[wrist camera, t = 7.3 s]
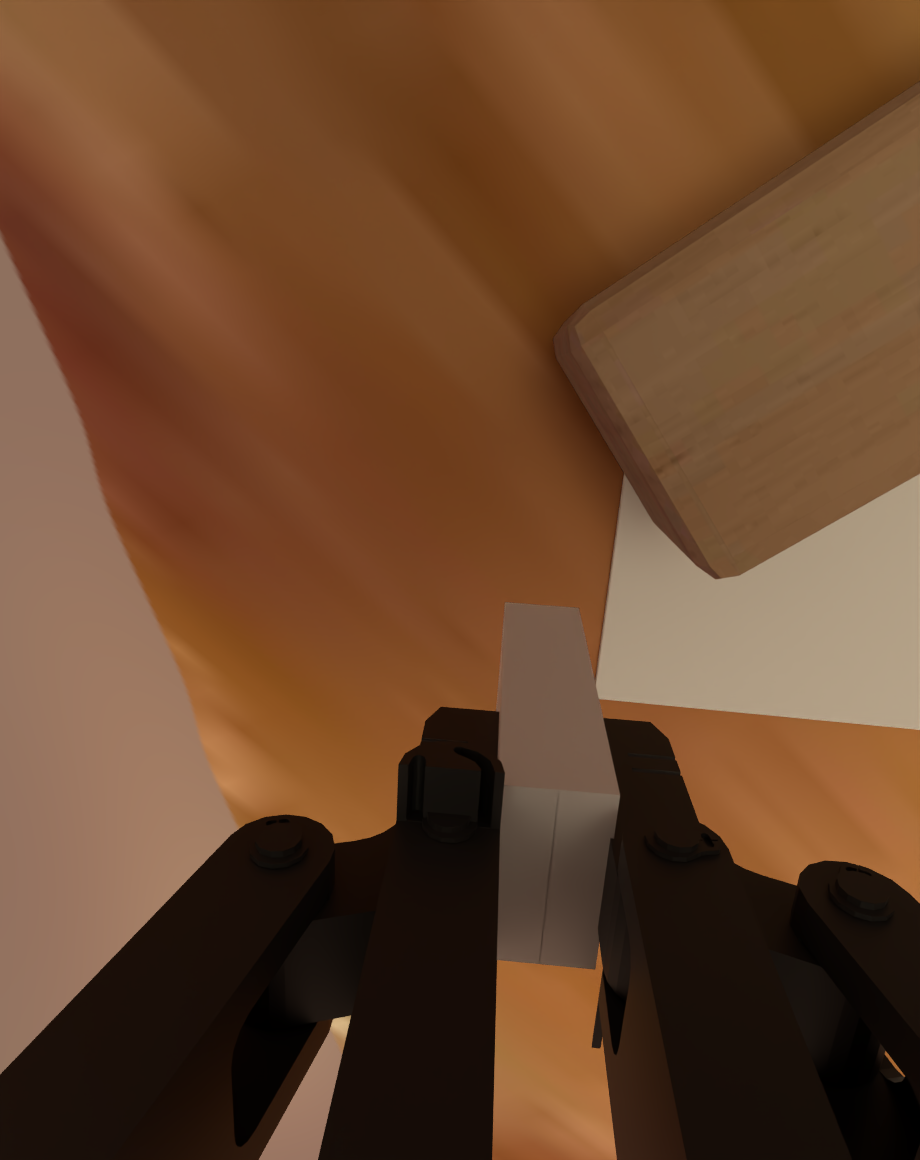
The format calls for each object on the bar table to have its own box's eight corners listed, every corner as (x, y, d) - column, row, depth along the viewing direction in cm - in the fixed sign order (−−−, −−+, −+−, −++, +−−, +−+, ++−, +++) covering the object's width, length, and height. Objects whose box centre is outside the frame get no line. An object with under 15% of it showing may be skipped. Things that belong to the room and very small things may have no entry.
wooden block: (541, 337, 33) (1006, 30, 29) (660, 536, 34) (1111, 271, 31) (556, 320, 23) (1258, -145, 19) (719, 599, 25) (1389, 224, 21)
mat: (647, 300, 32) (649, 299, 32) (1145, 337, 32) (1152, 337, 31) (593, 694, 38) (594, 698, 37) (1017, 735, 37) (1022, 739, 36)
